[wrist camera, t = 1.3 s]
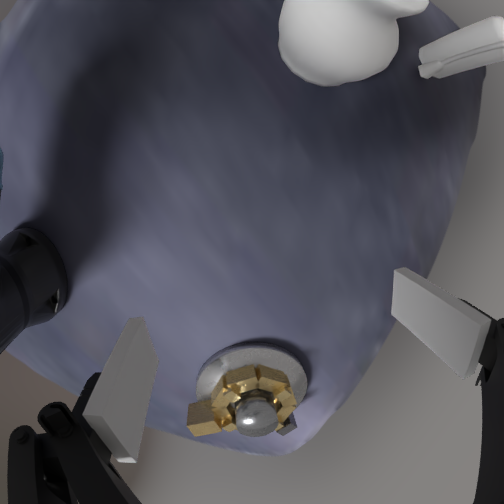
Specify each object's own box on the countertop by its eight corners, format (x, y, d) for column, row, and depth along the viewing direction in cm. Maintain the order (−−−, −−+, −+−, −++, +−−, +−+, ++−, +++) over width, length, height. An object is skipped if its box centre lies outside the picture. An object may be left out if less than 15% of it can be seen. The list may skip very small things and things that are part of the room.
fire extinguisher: (399, 58, 31) (521, 11, 7) (431, 37, 30) (532, 1, 6) (424, 92, 33) (551, 69, 9) (452, 68, 32) (556, 46, 8)
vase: (269, 89, 32) (319, 10, 13) (268, 6, 28) (302, -86, 9) (369, 101, 33) (469, 65, 14) (360, 22, 29) (433, -39, 10)
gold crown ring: (207, 430, 42) (207, 451, 38) (175, 384, 39) (172, 406, 34) (298, 406, 43) (305, 426, 38) (280, 355, 39) (287, 376, 34)
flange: (220, 427, 46) (222, 464, 37) (178, 360, 40) (170, 400, 32) (312, 401, 46) (326, 436, 37) (290, 326, 41) (306, 362, 32)
